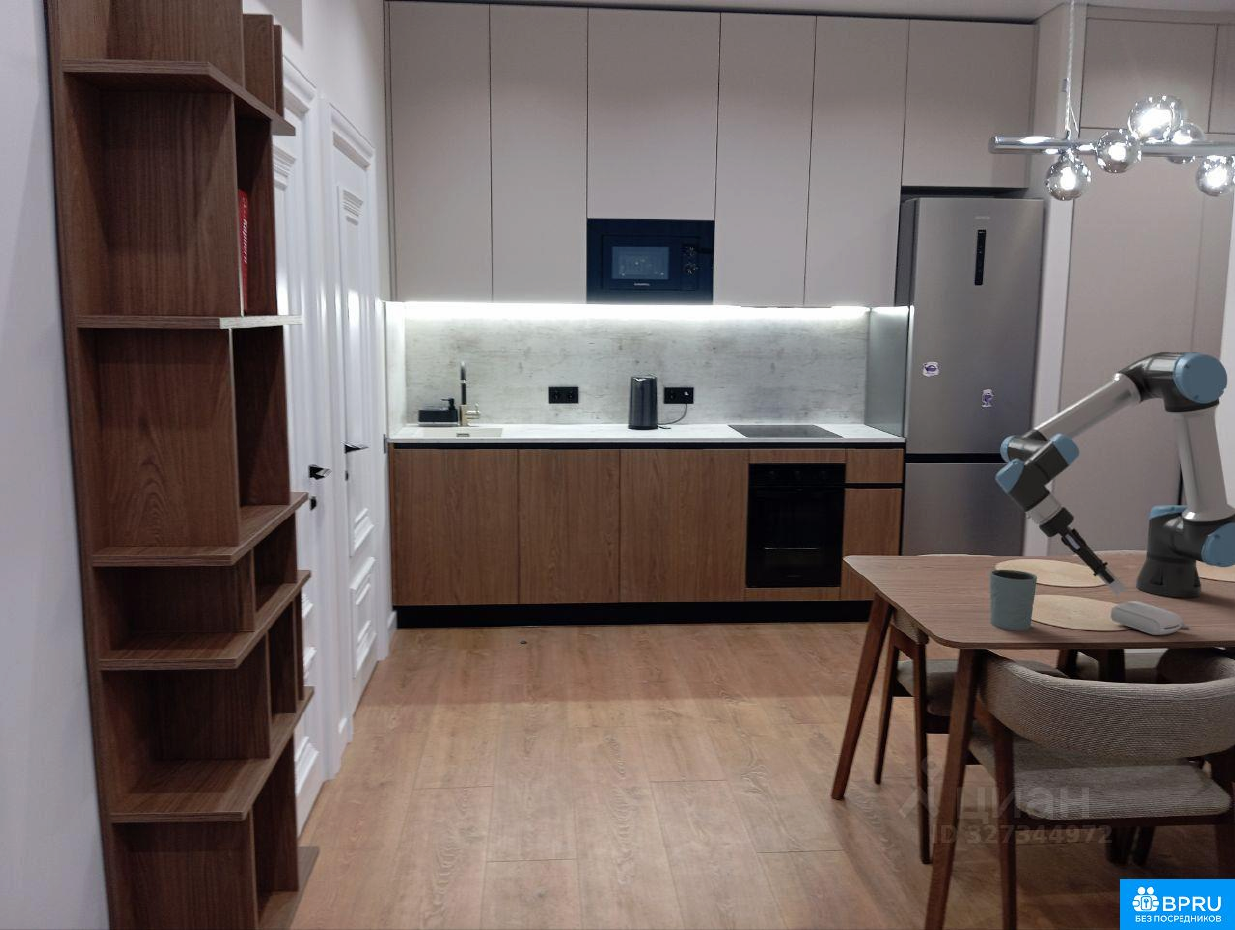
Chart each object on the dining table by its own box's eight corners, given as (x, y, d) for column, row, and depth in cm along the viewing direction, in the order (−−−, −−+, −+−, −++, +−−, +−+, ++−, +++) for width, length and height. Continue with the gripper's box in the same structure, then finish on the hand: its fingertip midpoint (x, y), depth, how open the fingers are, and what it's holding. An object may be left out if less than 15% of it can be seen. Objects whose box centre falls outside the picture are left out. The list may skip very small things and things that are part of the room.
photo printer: (1136, 598, 232) (1189, 615, 222) (1134, 615, 233) (1186, 633, 223) (1111, 604, 227) (1163, 621, 217) (1108, 621, 228) (1160, 640, 217)
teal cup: (1009, 633, 219) (1013, 581, 218) (976, 620, 229) (980, 570, 227) (1043, 628, 223) (1047, 577, 222) (1009, 616, 233) (1013, 567, 231)
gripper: (1036, 521, 241) (1105, 594, 238) (1038, 530, 229) (1111, 608, 226) (1061, 501, 239) (1132, 575, 235) (1064, 510, 227) (1139, 588, 223)
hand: (1121, 591), depth 230 cm, fingers closed
